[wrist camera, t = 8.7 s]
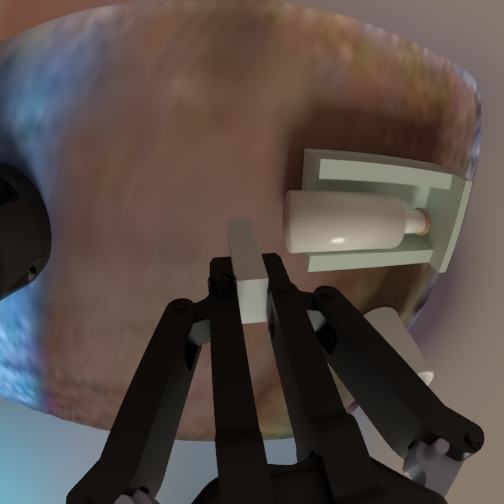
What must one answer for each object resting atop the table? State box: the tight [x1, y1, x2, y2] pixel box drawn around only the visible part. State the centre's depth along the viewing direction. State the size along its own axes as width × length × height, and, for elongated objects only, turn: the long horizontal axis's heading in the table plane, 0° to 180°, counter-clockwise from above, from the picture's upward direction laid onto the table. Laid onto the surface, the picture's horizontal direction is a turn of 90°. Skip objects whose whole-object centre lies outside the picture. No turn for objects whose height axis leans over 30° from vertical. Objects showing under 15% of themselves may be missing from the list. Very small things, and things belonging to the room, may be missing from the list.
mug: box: [363, 307, 434, 386], centre depth 32 cm, size 12×8×12 cm
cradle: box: [299, 148, 472, 273], centre depth 24 cm, size 16×10×6 cm, turn 89°
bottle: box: [283, 190, 431, 253], centre depth 24 cm, size 5×5×14 cm
